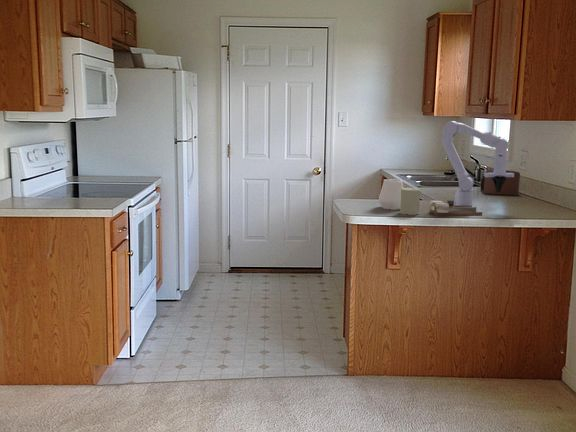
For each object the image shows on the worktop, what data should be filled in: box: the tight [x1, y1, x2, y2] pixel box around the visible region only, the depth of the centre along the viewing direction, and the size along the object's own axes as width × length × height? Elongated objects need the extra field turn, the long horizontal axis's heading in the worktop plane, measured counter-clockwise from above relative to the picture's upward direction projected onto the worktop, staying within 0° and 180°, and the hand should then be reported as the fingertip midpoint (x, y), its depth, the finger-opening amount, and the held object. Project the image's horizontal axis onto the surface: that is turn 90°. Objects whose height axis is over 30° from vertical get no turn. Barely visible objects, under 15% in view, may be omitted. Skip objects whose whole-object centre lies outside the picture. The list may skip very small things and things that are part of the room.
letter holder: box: [479, 169, 521, 196], centre depth 376 cm, size 10×20×14 cm, turn 83°
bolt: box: [432, 199, 455, 211], centre depth 306 cm, size 3×10×4 cm, turn 100°
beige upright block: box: [399, 187, 421, 216], centre depth 305 cm, size 9×9×12 cm
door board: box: [429, 200, 483, 217], centre depth 307 cm, size 10×22×6 cm, turn 100°
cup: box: [378, 178, 404, 211], centre depth 318 cm, size 13×13×14 cm
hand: (497, 191), depth 316 cm, fingers closed
